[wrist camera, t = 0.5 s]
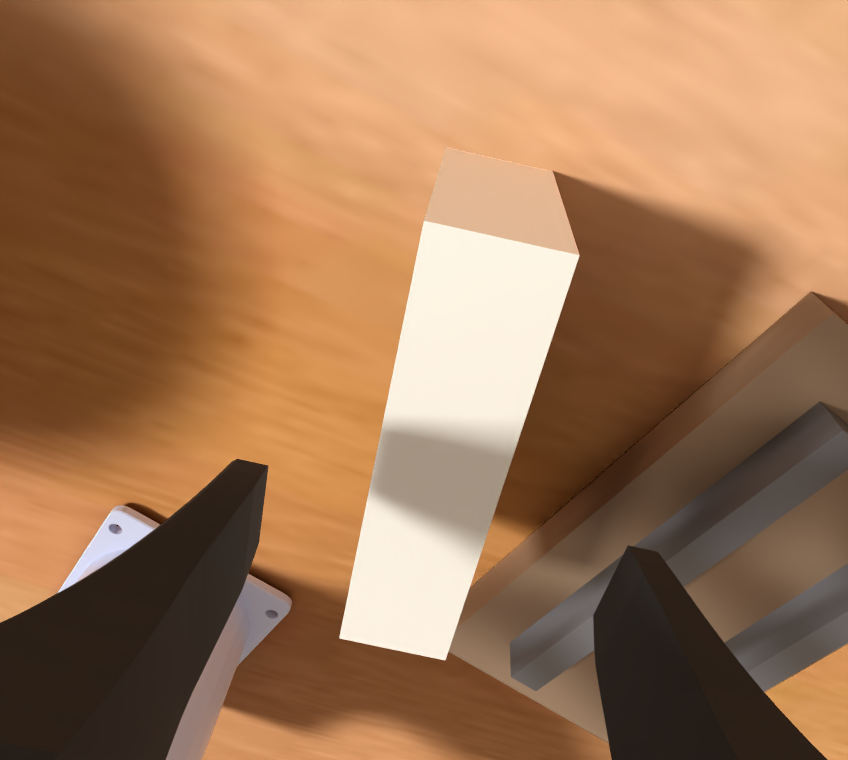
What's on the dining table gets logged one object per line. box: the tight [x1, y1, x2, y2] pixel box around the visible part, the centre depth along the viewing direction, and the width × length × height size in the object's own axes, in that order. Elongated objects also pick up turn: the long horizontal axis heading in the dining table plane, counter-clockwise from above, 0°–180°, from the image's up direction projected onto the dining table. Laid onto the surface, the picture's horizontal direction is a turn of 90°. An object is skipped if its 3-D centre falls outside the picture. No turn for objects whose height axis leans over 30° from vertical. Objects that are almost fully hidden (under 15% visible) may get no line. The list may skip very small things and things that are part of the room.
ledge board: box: [448, 292, 848, 743], centre depth 24 cm, size 18×11×3 cm, turn 144°
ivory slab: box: [339, 147, 580, 660], centre depth 19 cm, size 12×3×7 cm, turn 169°
